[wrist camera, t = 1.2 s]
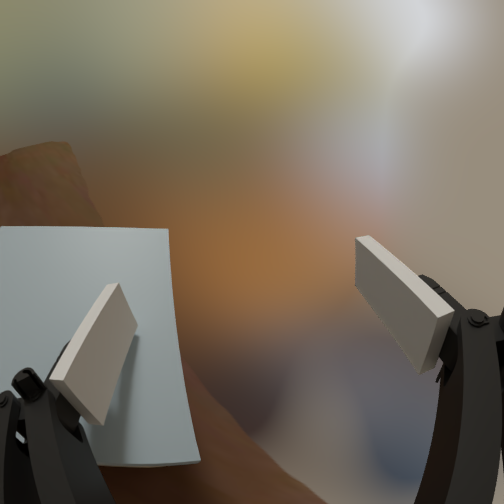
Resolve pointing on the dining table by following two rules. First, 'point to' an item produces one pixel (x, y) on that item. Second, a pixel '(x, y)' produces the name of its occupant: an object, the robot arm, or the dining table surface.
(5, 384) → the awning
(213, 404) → the dining table surface
